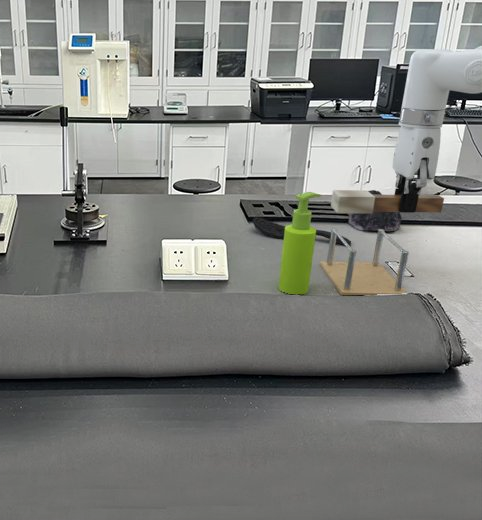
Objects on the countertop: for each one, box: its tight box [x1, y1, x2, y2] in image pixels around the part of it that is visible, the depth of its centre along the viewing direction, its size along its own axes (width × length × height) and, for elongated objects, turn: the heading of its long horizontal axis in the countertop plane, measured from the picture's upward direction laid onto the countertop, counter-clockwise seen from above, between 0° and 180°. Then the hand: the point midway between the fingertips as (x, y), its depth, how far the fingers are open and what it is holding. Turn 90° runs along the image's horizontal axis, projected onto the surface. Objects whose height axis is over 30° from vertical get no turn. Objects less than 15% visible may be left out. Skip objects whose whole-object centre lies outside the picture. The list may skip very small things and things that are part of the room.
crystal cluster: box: [348, 189, 403, 232], centre depth 144 cm, size 13×14×10 cm
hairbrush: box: [252, 214, 352, 247], centre depth 137 cm, size 8×4×25 cm
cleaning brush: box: [330, 189, 445, 214], centre depth 109 cm, size 21×5×4 cm, turn 86°
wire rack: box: [319, 228, 410, 296], centre depth 111 cm, size 13×16×9 cm
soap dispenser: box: [277, 191, 322, 295], centre depth 105 cm, size 6×7×20 cm
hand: (403, 208), depth 109 cm, fingers closed on cleaning brush, 2 cm apart
